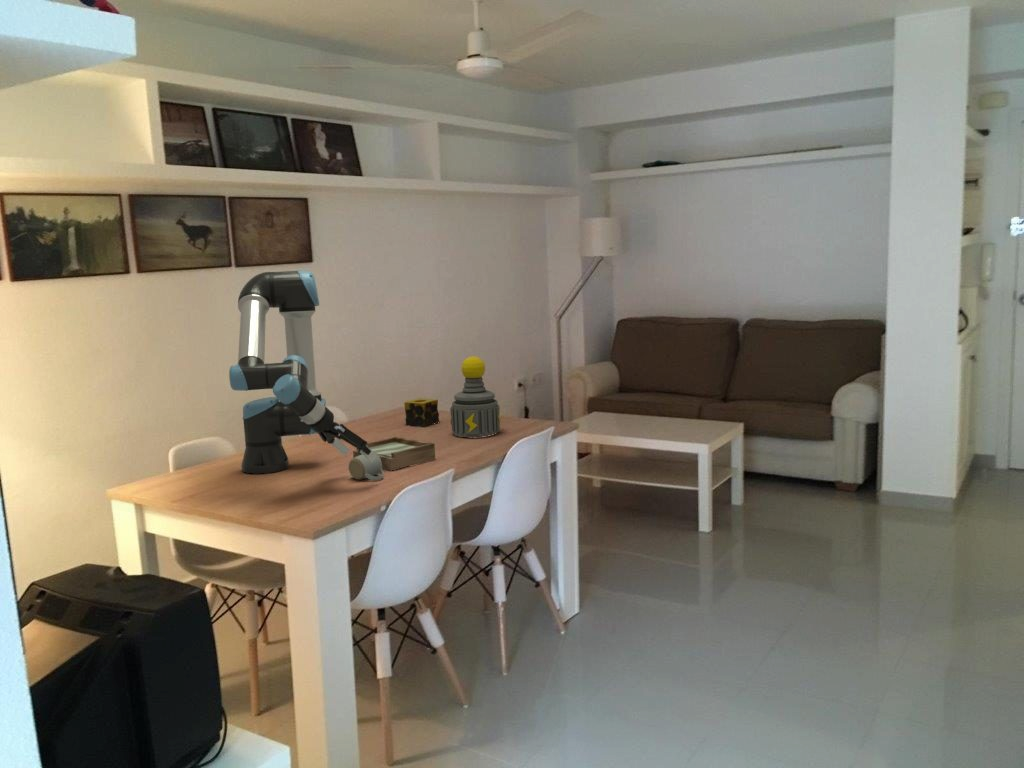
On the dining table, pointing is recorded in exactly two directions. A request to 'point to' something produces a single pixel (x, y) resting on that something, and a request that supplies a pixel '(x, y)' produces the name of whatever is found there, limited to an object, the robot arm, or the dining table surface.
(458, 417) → the decorative lamp
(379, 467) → the ceramic mug
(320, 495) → the dining table surface
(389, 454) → the walnut tray
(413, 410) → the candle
